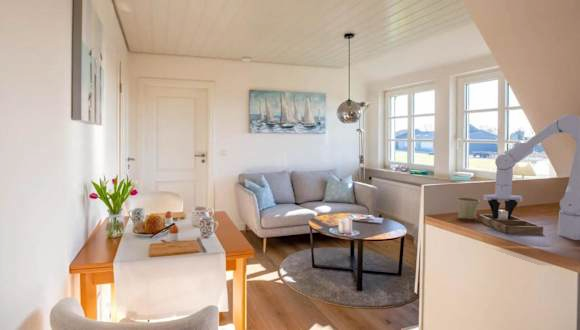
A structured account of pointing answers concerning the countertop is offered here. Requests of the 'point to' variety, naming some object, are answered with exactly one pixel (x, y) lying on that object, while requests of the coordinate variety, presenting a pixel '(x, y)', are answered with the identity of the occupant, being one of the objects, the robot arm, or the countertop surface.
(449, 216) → the countertop surface
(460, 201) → the flower pot
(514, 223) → the bin
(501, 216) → the white rounded egg-shaped piece
